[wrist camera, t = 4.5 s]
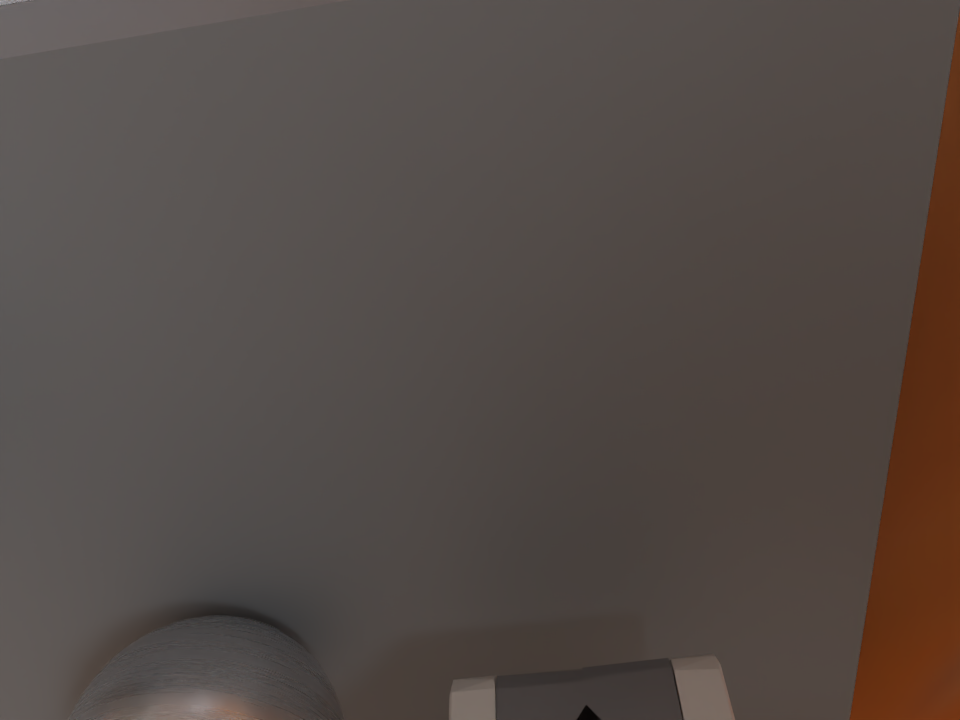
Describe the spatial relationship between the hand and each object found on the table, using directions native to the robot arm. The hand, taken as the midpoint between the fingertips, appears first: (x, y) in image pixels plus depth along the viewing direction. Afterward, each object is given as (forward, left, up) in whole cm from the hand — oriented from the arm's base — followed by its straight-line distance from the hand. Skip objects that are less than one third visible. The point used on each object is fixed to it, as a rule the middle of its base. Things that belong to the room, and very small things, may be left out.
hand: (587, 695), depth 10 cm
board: (+9, 0, -4) cm, 10 cm away
